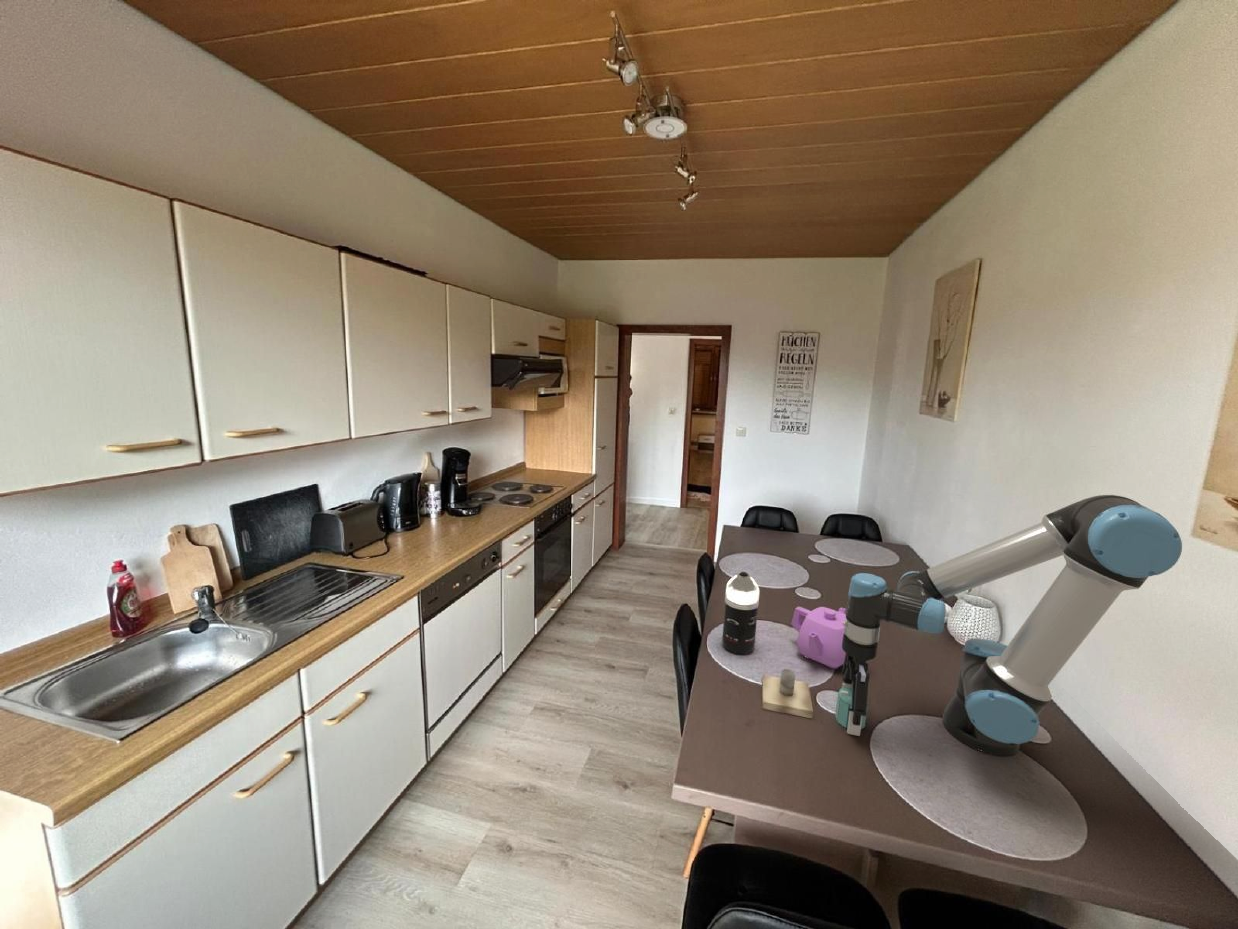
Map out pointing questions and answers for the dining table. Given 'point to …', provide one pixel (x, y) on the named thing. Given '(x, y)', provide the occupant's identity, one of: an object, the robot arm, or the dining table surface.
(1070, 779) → the dining table surface
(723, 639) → the black bottle
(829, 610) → the teapot
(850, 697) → the cap
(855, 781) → the dining table surface
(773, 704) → the bolt post
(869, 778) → the dining table surface
